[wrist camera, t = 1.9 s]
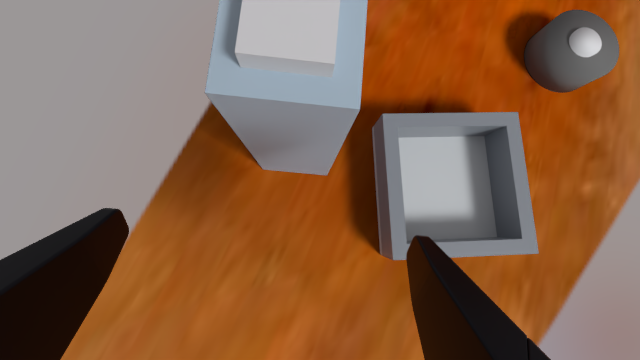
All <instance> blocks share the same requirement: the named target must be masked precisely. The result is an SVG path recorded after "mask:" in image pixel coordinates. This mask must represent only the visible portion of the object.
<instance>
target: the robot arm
mask: <svg viewBox="0 0 640 360" xmlns="http://www.w3.org/2000/svg"><path fill="white" fill-rule="evenodd" d="M128 234H129V228H128V225H127V223H126V220H125V218H124V216H123V214H122V212H121V211H120V210H119V209H112V208H103V209H101V210H99V211H97V212H95V213H93V214H91V215H89V216H87V217H85V218H83V219H81V220H79V221H77V222H75V223H73V224H71V225H69V226H67V227H65V228H63V229H61V230H59V231H57V232H55V233H53V234H51V235H49V236H47V237H45V238H43V239H41V240H39V241H38V242H36V243H33V244H31V245H29V246H28V247H25V248H24V249H21V250H19V251H17V252H16V253H13V254H11V255H9V256H7V257H5V258H4V259H1V260H0V360H60V359H61V358H62V356H63V354H64V353H65V351H66V349H67V348H68V346H69V344H70V343H71V341H72V339H73V338H74V336H75V334H76V332H77V331H78V329H79V327H80V326H81V324H82V322H83V321H84V319H85V317H86V316H87V314H88V312H89V311H90V309H91V307H92V306H93V304H94V302H95V301H96V299H97V297H98V296H99V294H100V292H101V291H102V289H103V287H104V285H105V283H106V282H107V280H108V278H109V276H110V274H111V272H112V269H113V267H114V265H115V263H116V261H117V259H118V256H119V254H120V252H121V250H122V248H123V246H124V243H125V241H126V239H127V237H128ZM406 260H407V268H408V276H409V284H410V293H411V300H412V306H413V311H414V316H415V320H416V324H417V328H418V333H419V337H420V341H421V345H422V350H423V354H424V358H425V360H551V359H550V358H549V357H547V355H545V353H544V352H543V351H542V350H541V349H540V348H539V347H538V346H537V345H536V344H535V343H534V342H533V341H532V340H531V339H529V338H527V336H526V334H525V333H524V332H523V331H522V330H521V329H520V328H519V327H518V326H517V325H516V324H515V323H514V322H513V321H512V320H511V319H510V318H509V317H508V316H507V315H506V314H505V313H504V312H503V311H502V310H501V309H500V308H499V307H498V306H497V305H496V304H495V303H494V302H493V301H492V300H491V299H490V298H489V297H488V296H487V295H486V294H485V293H484V292H483V291H482V290H481V289H480V288H479V287H478V286H477V285H476V284H475V283H474V282H473V281H472V280H471V279H470V278H469V277H468V276H467V275H466V274H465V273H464V272H463V270H462V269H461V268H460V267H459V266H458V265H457V264H456V263H455V262H454V261H453V260H452V259H451V258H450V257H449V256H448V255H447V254H446V253H445V252H444V251H443V250H442V249H441V248H440V247H439V246H438V245H437V244H436V243H435V242H434V241H433V240H432V239H431V238H430V237H428V236H423V235H415V236H414V237H413V239H412V241H411V244H410V246H409V248H408V251H407V255H406Z"/></svg>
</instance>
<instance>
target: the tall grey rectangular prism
mask: <svg viewBox="0 0 640 360" xmlns="http://www.w3.org/2000/svg"><path fill="white" fill-rule="evenodd" d="M366 15H367V0H220V1H219V8H218V14H217V20H216V27H215V32H214V38H213V45H212V51H211V57H210V64H209V70H208V76H207V82H206V88H205V94H206V95H207V96H208V98H209V99H210V100H211V102H212V103H213V104H214V106H215V107H216V108H217V109H218V111H219V112H220V113H221V115H222V116H223V117H224V119H225V120H226V121H227V123H228V124H229V125H230V127H231V128H232V129H233V131H234V132H235V133H236V134H237V136H238V137H239V138H240V140H241V141H242V142H243V144H244V145H245V146H246V148H247V149H248V150H249V152H250V153H251V154H252V155H253V157H254V158H255V159H256V161H257V162H258V163H259V165H260V166H261V167H262V169H265V170H275V171H286V172H296V173H306V174H317V175H327V174H328V172H329V170H330V168H331V166H332V164H333V162H334V160H335V158H336V156H337V154H338V152H339V150H340V148H341V146H342V144H343V142H344V140H345V138H346V136H347V134H348V132H349V130H350V128H351V126H352V124H353V122H354V121H355V119H356V117H357V115H358V113H359V111H360V103H361V89H362V74H363V59H364V44H365V30H366Z"/></svg>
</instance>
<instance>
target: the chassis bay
mask: <svg viewBox="0 0 640 360" xmlns="http://www.w3.org/2000/svg"><path fill="white" fill-rule="evenodd" d="M372 138H373V153H374V168H375V183H376V199H377V214H378V229H379V245H380V255H382V256H385V257H387V258H389V259H392V260H406V255H407V251H408V248H409V246H410V244H411V241H412V239H413V237H414V236H415V235H423V236H428V237H430V238H431V239H432V240H433V241H434V242H435V243H436V244H437V245H438V246H439V247H440V248H441V249H442V250H443V251H444V252H445V253H446V254H447V255H448V256H449V257H472V256H494V255H516V254H538V253H539V252H538V246H537V239H536V232H535V225H534V218H533V212H532V205H531V198H530V191H529V184H528V178H527V171H526V164H525V157H524V151H523V144H522V137H521V130H520V123H519V117H518V112H488V113H400V114H382V115H381V117H380V118H379V119H378V121H377V122H376V123H375V125H374V126H373V127H372Z"/></svg>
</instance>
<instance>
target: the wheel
mask: <svg viewBox="0 0 640 360" xmlns="http://www.w3.org/2000/svg"><path fill="white" fill-rule="evenodd" d="M618 57H619V45H618V41H617V38H616V35H615V33H614V32H613V30H612V29H611V27H610V26H609V25H608V24H607V23H606V22H605V21H604V20H603V19H602V18H600V17H599V16H597V15H595V14H593V13H591V12H588V11H583V10H570V11H566V12H564V13H562V14H560V15H559V16H557V17H556V18H555V19H553V20H552V21H551V22H550V23H549V24H547V25H546V26H545V27H544V28H542V29H541V30H540V31H539V32H537V33H536V34H535V35H534V36H533V37H532V38H531V39H530V40H529V41H528V43H527V45H526V47H525V51H524V61H525V65H526V68H527V70H528V72H529V74H530V75H531V77H532V78H533V79H534V80H535V81H536V82H537V83H538V84H539V85H541V86H542V87H544V88H546V89H548V90H550V91H554V92H562V93H563V92H570V91H573V90H575V89H577V88H579V87H581V86H583V85H585V84H587V83H590V82H592V81H594V80H596V79H598V78H600V77H602V76H604V75H606V74H607V73H609V72H610V71H611V70H612V69H613V68H614V66H615V65H616V63H617V60H618Z"/></svg>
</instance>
